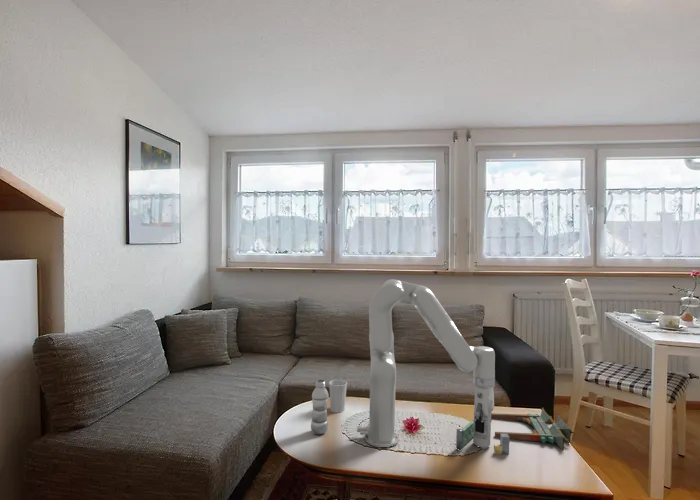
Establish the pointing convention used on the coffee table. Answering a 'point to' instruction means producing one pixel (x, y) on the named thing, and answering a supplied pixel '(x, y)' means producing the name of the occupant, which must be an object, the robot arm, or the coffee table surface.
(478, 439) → the energy drink can
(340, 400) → the cup
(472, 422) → the gate
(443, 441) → the coffee table surface
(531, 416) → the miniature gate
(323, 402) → the plastic bottle
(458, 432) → the hinge post
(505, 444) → the grey and yellow block
